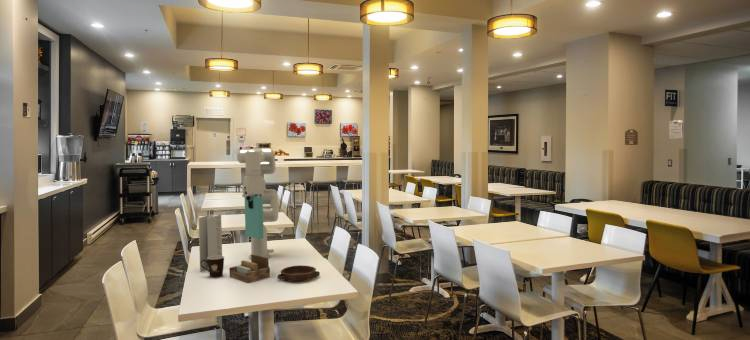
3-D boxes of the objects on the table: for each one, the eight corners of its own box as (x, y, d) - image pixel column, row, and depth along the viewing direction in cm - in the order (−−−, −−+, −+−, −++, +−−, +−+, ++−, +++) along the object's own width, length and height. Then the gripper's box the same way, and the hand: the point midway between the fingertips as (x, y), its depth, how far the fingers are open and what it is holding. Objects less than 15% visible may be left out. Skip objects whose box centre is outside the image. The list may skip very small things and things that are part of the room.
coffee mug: (228, 274, 253) (227, 256, 252) (217, 278, 245) (217, 260, 244) (210, 272, 257) (209, 254, 256) (199, 276, 249) (199, 258, 248)
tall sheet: (250, 234, 255) (249, 194, 253) (263, 237, 247) (262, 196, 245) (245, 235, 252) (244, 195, 251) (258, 238, 245) (257, 197, 243)
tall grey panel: (209, 272, 258) (207, 218, 256) (199, 271, 259) (198, 217, 257) (222, 265, 271) (221, 214, 270) (213, 265, 273) (212, 214, 271)
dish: (275, 276, 250) (275, 267, 249) (315, 272, 257) (315, 263, 257) (279, 285, 233) (279, 276, 233) (323, 281, 240) (322, 271, 240)
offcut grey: (240, 276, 250) (240, 265, 249) (251, 280, 243) (251, 268, 243) (237, 277, 248) (236, 266, 248) (248, 280, 241) (247, 269, 241)
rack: (252, 271, 259) (251, 253, 258) (270, 276, 248) (269, 258, 247) (229, 276, 248) (229, 258, 248) (247, 282, 237) (247, 263, 237)
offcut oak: (244, 274, 253) (244, 260, 252) (257, 278, 245) (257, 263, 244) (241, 275, 251) (241, 260, 251) (254, 279, 243) (254, 264, 243)
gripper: (261, 172, 256) (262, 205, 257) (235, 174, 244) (236, 209, 245) (270, 172, 251) (270, 206, 252) (243, 174, 239) (244, 210, 240)
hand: (253, 207), depth 249 cm, fingers closed on tall sheet, 3 cm apart
